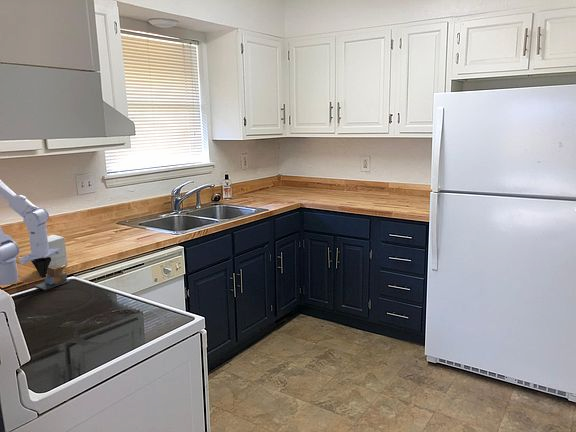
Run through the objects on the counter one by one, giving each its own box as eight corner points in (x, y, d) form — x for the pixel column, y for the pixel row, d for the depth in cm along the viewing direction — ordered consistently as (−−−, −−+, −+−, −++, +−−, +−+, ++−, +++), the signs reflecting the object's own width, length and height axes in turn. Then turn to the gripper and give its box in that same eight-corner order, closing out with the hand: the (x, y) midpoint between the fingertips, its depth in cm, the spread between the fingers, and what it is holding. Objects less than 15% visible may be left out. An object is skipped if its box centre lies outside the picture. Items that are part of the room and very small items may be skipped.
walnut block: (56, 279, 178) (54, 264, 177) (63, 281, 176) (61, 266, 174) (48, 281, 175) (46, 266, 174) (55, 284, 173) (53, 269, 172)
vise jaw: (45, 282, 174) (44, 276, 173) (49, 281, 175) (48, 275, 174) (50, 284, 172) (50, 278, 171) (54, 283, 173) (53, 277, 173)
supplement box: (56, 262, 196) (53, 234, 193) (68, 265, 193) (65, 237, 190) (40, 267, 190) (36, 238, 187) (51, 271, 187) (48, 241, 184)
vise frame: (35, 286, 172) (34, 278, 171) (60, 277, 180) (59, 270, 180) (44, 290, 169) (43, 282, 168) (70, 281, 177) (69, 273, 177)
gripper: (25, 249, 159) (29, 285, 163) (64, 239, 171) (67, 273, 175) (14, 245, 163) (18, 280, 166) (52, 235, 175) (56, 269, 178)
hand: (42, 276), depth 171 cm, fingers closed
